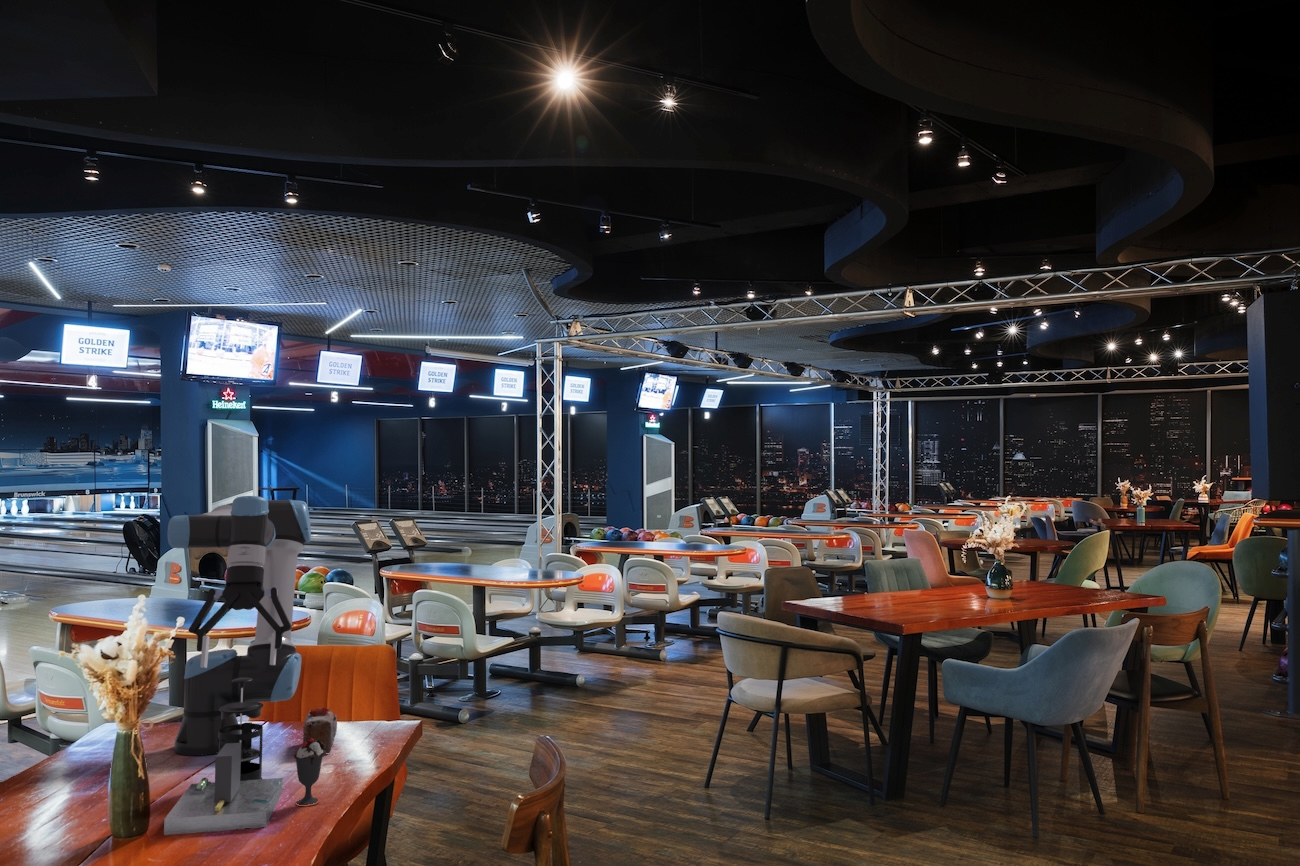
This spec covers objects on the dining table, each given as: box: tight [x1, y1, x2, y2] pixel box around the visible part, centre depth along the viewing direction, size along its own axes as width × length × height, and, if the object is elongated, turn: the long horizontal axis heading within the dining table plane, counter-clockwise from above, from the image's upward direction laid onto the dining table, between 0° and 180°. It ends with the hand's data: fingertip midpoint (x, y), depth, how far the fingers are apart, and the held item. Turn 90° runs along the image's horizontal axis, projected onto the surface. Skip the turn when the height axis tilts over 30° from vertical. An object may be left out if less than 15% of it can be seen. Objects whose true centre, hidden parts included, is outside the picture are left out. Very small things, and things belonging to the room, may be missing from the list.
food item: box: [302, 707, 338, 754], centre depth 228 cm, size 14×8×10 cm, turn 19°
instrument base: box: [163, 777, 284, 836], centre depth 184 cm, size 20×18×5 cm
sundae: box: [291, 732, 326, 805], centre depth 190 cm, size 7×7×15 cm
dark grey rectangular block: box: [214, 743, 241, 811], centre depth 182 cm, size 14×3×9 cm, turn 13°
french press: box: [217, 678, 264, 781], centre depth 202 cm, size 12×9×23 cm
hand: (238, 666), depth 194 cm, fingers open, 13 cm apart
